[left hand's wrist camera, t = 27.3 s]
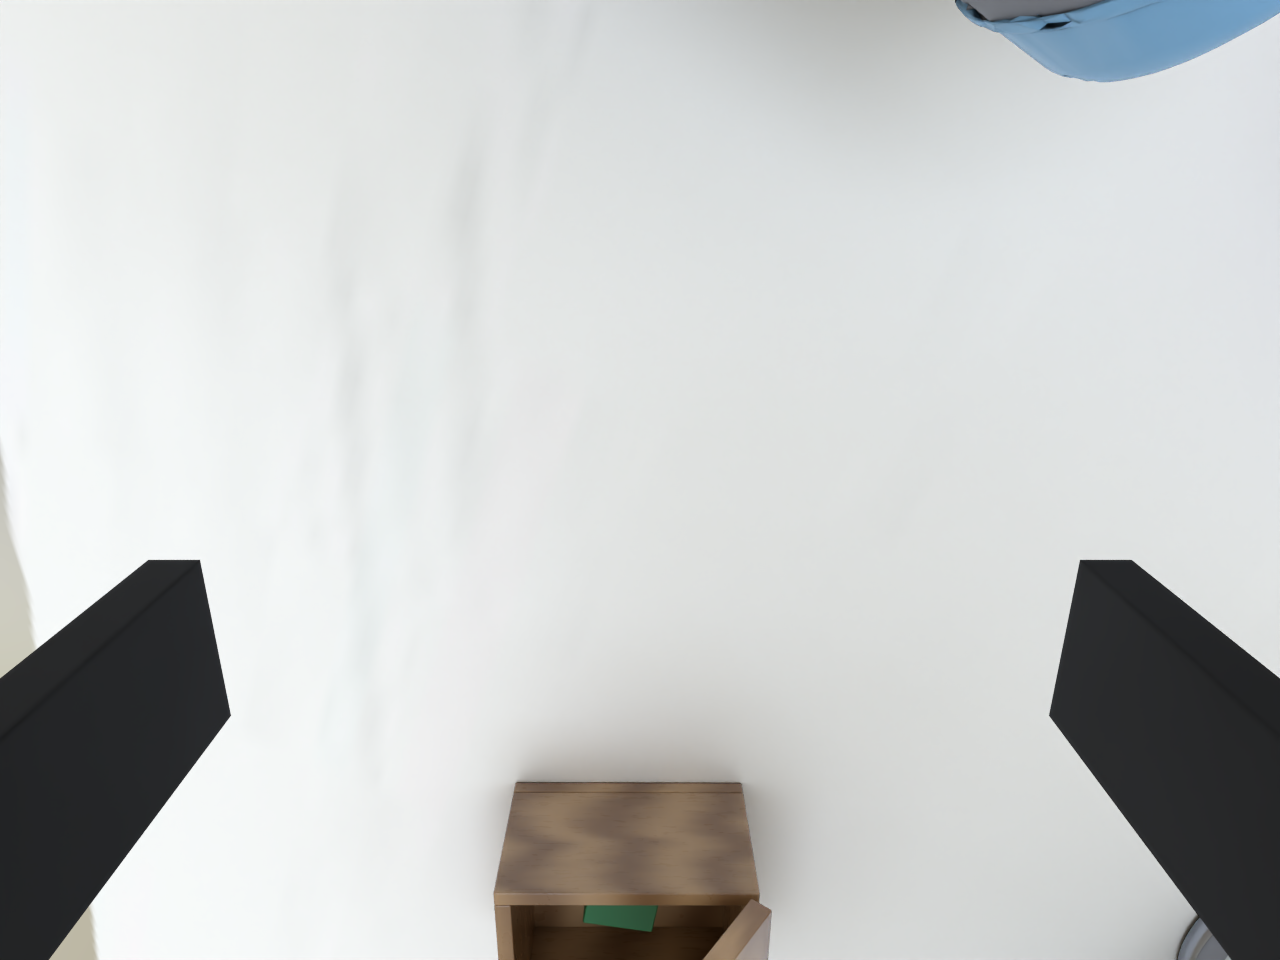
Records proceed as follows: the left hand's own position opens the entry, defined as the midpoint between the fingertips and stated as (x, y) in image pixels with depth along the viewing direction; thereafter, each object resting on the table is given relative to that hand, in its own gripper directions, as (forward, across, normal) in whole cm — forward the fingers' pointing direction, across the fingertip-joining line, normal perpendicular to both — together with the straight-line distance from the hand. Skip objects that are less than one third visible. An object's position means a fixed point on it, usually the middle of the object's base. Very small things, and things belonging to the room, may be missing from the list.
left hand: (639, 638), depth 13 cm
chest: (+32, -1, -36) cm, 48 cm away
